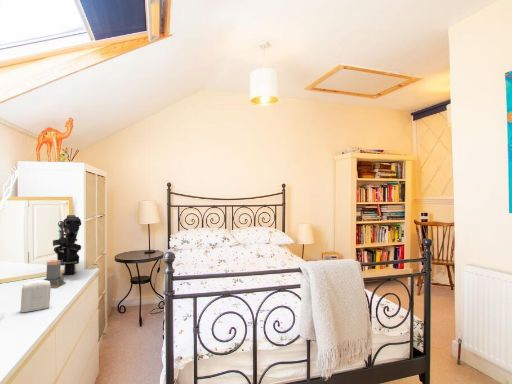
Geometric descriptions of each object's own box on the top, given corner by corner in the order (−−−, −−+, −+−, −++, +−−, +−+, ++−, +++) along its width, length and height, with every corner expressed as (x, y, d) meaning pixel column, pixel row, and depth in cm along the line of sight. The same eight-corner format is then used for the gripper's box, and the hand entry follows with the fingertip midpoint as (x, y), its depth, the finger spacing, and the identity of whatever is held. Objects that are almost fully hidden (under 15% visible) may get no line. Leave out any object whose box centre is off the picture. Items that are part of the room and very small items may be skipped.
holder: (48, 283, 171) (49, 276, 171) (65, 283, 171) (66, 276, 171) (38, 288, 162) (39, 280, 162) (56, 288, 162) (57, 280, 163)
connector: (50, 283, 169) (52, 260, 169) (59, 283, 169) (60, 260, 169) (45, 285, 164) (47, 261, 164) (54, 285, 164) (56, 262, 165)
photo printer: (48, 305, 137) (49, 277, 137) (50, 308, 134) (51, 279, 134) (19, 310, 130) (21, 281, 130) (21, 313, 126) (22, 283, 127)
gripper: (48, 235, 182) (39, 261, 175) (66, 230, 173) (57, 258, 167) (67, 240, 191) (59, 265, 184) (85, 236, 182) (77, 262, 175)
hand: (63, 262), depth 177 cm, fingers open, 9 cm apart
